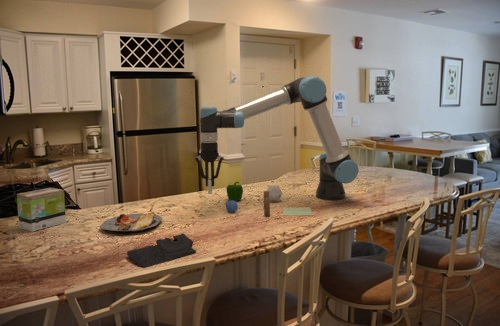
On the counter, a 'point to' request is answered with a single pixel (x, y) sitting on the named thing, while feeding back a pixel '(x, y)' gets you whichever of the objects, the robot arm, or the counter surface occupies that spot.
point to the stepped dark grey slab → (162, 251)
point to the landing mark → (297, 211)
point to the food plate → (131, 222)
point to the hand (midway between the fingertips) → (210, 193)
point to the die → (274, 193)
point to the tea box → (41, 209)
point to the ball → (231, 206)
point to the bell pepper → (234, 192)
